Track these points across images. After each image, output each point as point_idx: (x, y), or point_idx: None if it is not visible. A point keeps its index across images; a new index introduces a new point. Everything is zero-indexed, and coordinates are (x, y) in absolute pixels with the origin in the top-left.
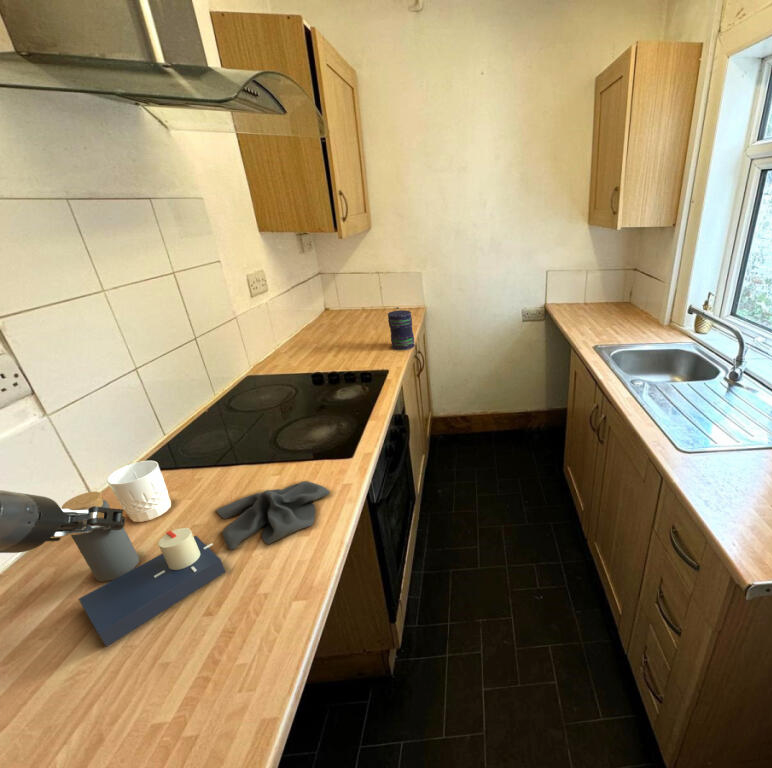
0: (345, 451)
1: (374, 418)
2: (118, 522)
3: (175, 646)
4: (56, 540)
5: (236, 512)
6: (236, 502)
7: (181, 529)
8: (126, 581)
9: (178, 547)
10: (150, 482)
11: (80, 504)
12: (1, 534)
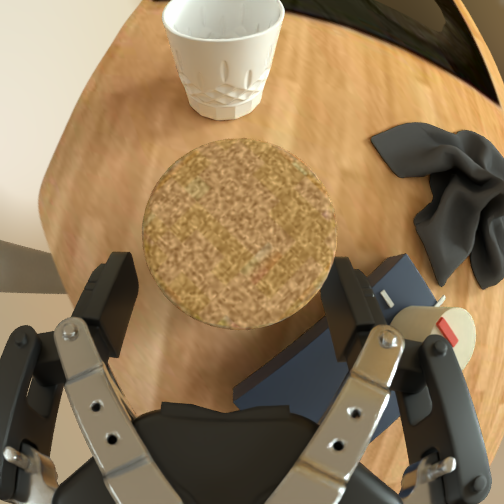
0: (485, 84)
1: (475, 34)
2: (428, 392)
3: (398, 467)
4: (135, 298)
5: (422, 174)
6: (398, 132)
7: (458, 313)
8: (316, 376)
9: None
10: (271, 45)
11: (257, 275)
12: None
